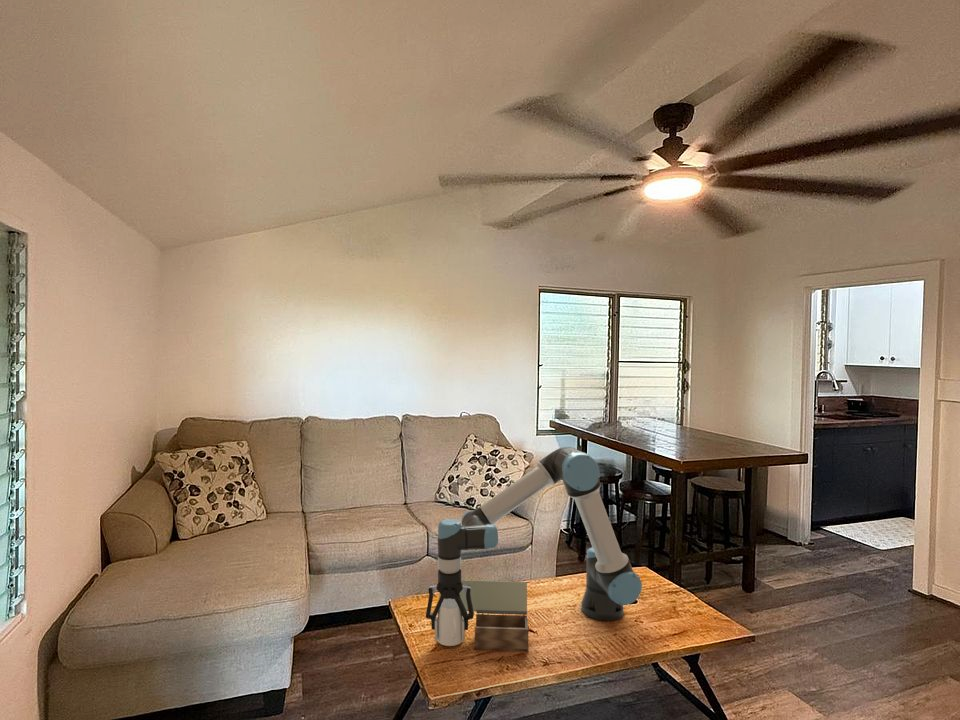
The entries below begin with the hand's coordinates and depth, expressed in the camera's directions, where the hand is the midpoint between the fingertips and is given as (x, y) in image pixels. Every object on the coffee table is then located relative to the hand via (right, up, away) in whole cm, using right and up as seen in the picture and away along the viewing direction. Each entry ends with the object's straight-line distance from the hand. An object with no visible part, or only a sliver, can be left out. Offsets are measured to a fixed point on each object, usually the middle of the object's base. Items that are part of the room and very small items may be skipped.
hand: (449, 639), depth 171 cm
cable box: (+17, -2, +1) cm, 17 cm away
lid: (+13, +10, +8) cm, 18 cm away
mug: (0, -1, 0) cm, 1 cm away
